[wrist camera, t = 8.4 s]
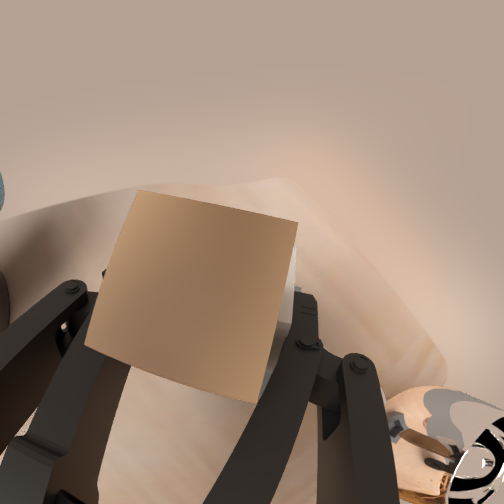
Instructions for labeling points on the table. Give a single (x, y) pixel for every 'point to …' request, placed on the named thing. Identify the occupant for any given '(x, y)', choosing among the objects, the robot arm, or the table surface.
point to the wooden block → (194, 293)
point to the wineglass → (445, 446)
